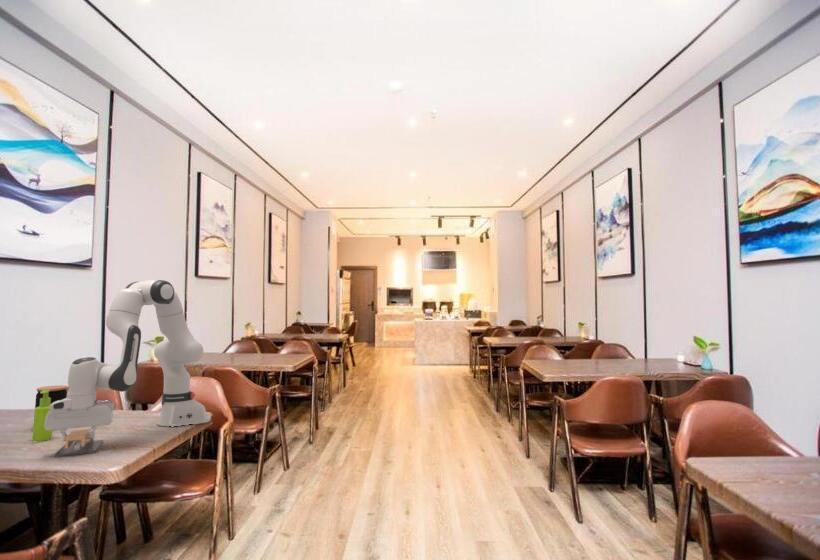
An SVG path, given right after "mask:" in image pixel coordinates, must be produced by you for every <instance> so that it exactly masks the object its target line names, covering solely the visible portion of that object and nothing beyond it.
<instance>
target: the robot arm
mask: <svg viewBox="0 0 820 560" xmlns="http://www.w3.org/2000/svg"><path fill="white" fill-rule="evenodd" d="M152 305H153V306H154V309H155V313H156V318H157V322H158V327H159V331H160V332H161V334H162V335H164V337H166V339H167V340H163V341H160V342H158V343H157V344H156V345H155V347H154V350H153V354H154V356H155V358H156V359H157V361H158V362H159V363H160V366H161V369H162V373H163V393H162V394H161V403H160V404H161V411H160V415H159V418H158V421H157V425H158V426H161V427H169V426H171V427H170V428H175V427H174V426H178V427H182V426H181V425H185V426H190V425H189V424H193V425H198V424H205V423H209V422H210V421H212V418H211V415H209V414H207V409H206V407H205V406H204V404H203V403H201V402H199V401H198V400H196V399H195V396H196V394H195V392H193V391H190V390H191V389H190V387H191V374H190V372H188V371H187V369H186V367H185V365H188V364H189V365H190V364H193V363H194V364H195V363H197V362H199V361H200V360H201V359H202V358H203V355H204V347H203V345H202V344H201V343H200V342H199V341H197V340H196V339H195V338H194V336H193V334H192V333H191V330H190V329H189V327H188V324H187V320H186V317H185V313H184V309H183V306H182V301H181V300H180V297H179V295H178V293H177V292H175V289H174V286H173V285H172V284H171V283H170V281H167V280H164V279H163V280H162V279H158V280H156V279H148V280H147V279H146V280H142V281H141V280H140V281H135V282H134V281H133V282H130V283H129V284H128V285H126V286H125V288H123V289H120V290H119V291H118V292H117V294H115V297H114V299H112V302H111V305H110V307H109V310H108V313H107V316H106V319H105V326H106V327H107V329H108V330H109V332H110V333H111V334H112V335H113V334H114V335H115V336H118V337H119V338H120V339H121V341H122V350H121V355H120V356H121V357H120V362H119V363H118V364H107V363H104V362H101V361H100V360H98V359H97V358H96V357H92V356H90V357H89V356H88V357H87V356H86V357H81V358H78V359H75V360H74V361H72V363H71V365H70V366H69V369H68V370H69V371H68V376H67V386H68V388H67V389H68V390H67V398H65V399H61V400H58V401H55V402H53V403H52V404H51V405H50V407H49V408H50V411H49V412H48V413H47V415H46V418H45V422H44V428H45V430H52V431H53V430H59V432H60V434H61V435H62V437H63V441H62V442H65V441H66V436H67V435H68V434H67V433H66V431H67V429H77V428H87V427H88V428H89V427H91V431H92V432H91V433H88V434H87V439H91V438H93V433H94V431H95V432H96V430H97V428H98V427H100V426H101V427H102V426H109V425H110V424H111V423H112V422H113V415H114V414H113V411H114V408H115V403H114V402H113V401H112V400H110V399H105V400H104V399H103V400H99V399H98V400H97V390H98V389H99V390H105V391H107V390H109V391H115V392H121V393H122V392H126V391H128V390H129V389H131V388H132V387H133V386H134V385H135V384H136V382H137V380H138V361H139V357H140V356H139V355H140V348H141V342H142V341H141V340H142V330H141V328H139V320H140V316H141V313H142V308H143V307H144V306H152Z"/></svg>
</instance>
